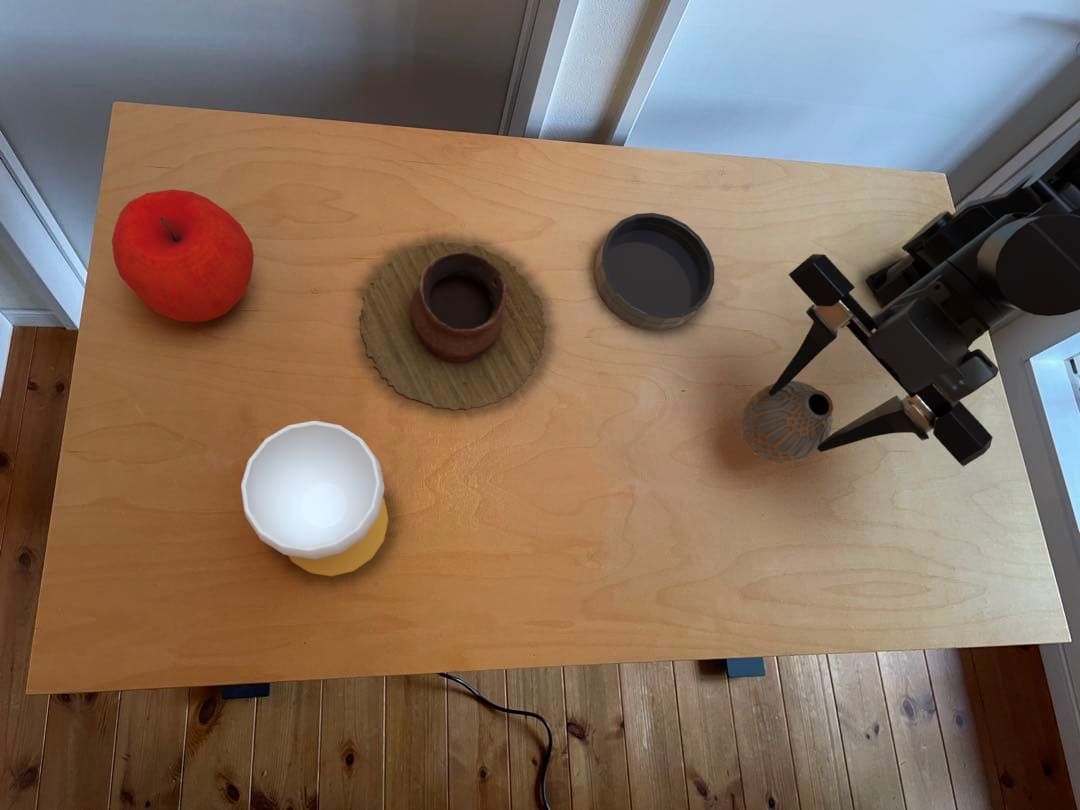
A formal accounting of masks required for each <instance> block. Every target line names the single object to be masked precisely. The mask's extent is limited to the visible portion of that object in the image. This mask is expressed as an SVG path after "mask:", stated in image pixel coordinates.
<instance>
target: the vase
mask: <svg viewBox="0 0 1080 810" xmlns="http://www.w3.org/2000/svg"><path fill="white" fill-rule="evenodd" d="M774 384H775V382H774V383H771V384H769V385H767V386H765V387H763V388H762V389H760V390H759V391H758V392H756V393H755V394H754V395H753V396H752V397H751V398H750V399H749V401H748V402H747V404H746V405H745V407H744V410H743V411H742V415H741V420H740V429H741V435H742V437H743V440H744V441H745V444H746V445H747V446H748V448H749V449H750V450H751V452H753V453H754V454H755V455H757V456H758V457H760V458H762V459H763V460H766V461H769V462H772V463H778V464H789V463H796V462H798V461H801V460H805V459H807V458H809V457H810V456H812V455H814V454H815V453H816V452H818V451H819V450H818V449H817V446H818V445H819V444H820V443H822V442H823V441H824V440H825V439H827V438H828V437H829V436H830V435H831V432H832V428H833V420H834V419H833V410H834V404H833V400H832V399H831V397H830V396H829V395H828V394H827V393H826V392H825V391H822V390H820V389H817V388H816V387H814V386H812V385H811V384H808V383H805V382H802V381H798V380H791V381H790V382H789V383H788V384H787V385H786V386H785V387H784V388H782V389H781V390H780V391H778V392H777V393H776V394H774V395H773V396H770V395H769V391H770V390H771V388H772V387H773V385H774Z"/></svg>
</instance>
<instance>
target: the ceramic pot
mask: <svg viewBox="0 0 1080 810" xmlns="http://www.w3.org/2000/svg"><path fill="white" fill-rule="evenodd" d="M370 283H371V284H373V287H370V288H368V289H366V290H365V292H364V294H363V299H364V304H363V307H362V308H361V309H360V311H361V312H360V315H359V316H358V319H360V334H361V335H362V338H363V342H364V343H365V345H366V355H367V357H368V358H372V359H373V360H374V362H375V364H374V365H373V366H374V368H376V369H377V370H378V371H379V373H380V378H383V379H386V380H387V382H388V386H393V388H394V389H395V392H396V393H398V394H400V395H403V396H405V397H406V398H407V399H411V400H415V401H419V402H422V403H424V404H428V405H431V406H432V407H433V408H441V409H450V410H452V411H457V410H459V409H463V410H469V409H471V408H478V407H479V408H480V407H485V406H487V405H489V404H494V403H497V402H500V401H501V400H502V399H503V398H506V397H510V396H512V395H514V392H516V391H517V390H520V389H521V388H523V386H524V385H525V382H526V381H527V378H528V376H531V375H533V374H534V368H535V367H536V366H537V365H538V364H539V359H540V358H541V357H542V355H543V353H542V349H545V347H546V346H545V335H546V330H547V326H548V325H547V324H545V319H544V317H543V316H544V311H543V303H542V301H541V299H540V298H541V297H540V296H539V295H537V294H536V291H535V289H534V288H532V287H531V285H530V283H529V280H528V279H527V278H526V277H525V276H523V275H521V274H520V273H518V272H517V266H515V265H512V264H511V262H510V261H508V260H506V259H504V258H503V257H502V255H499V254H495V253H493V252H490V251H487V249H485V247H483V246H479V245H477V244H474V245H465V244H464V243H460V242H446V243H445V242H444V241H440V242H439V241H438V242H428V244H423V245H416V246H414V248H412V249H408V250H403V252H402V253H401V254H400V255H395V256H393V257H392V259H391V261H390V262H389V263H387V264H386V265H385V266H384V267H382V268H380V269H379V270H378V274H376V275H375V276H374V280H371V281H370Z"/></svg>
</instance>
